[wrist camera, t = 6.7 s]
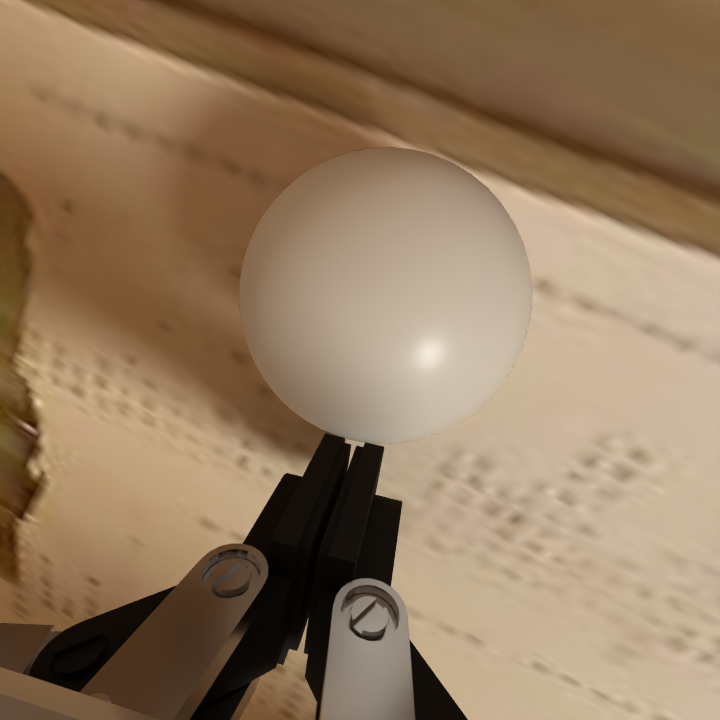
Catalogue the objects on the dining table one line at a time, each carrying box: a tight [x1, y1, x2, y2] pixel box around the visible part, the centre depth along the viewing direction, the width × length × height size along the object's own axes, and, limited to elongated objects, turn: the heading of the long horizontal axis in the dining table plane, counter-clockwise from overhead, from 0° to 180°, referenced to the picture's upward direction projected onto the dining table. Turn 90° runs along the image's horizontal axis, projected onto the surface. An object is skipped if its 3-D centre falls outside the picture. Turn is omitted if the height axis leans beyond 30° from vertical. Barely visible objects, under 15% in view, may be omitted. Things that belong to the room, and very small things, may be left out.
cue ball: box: [239, 147, 533, 444], centre depth 8 cm, size 6×6×6 cm
